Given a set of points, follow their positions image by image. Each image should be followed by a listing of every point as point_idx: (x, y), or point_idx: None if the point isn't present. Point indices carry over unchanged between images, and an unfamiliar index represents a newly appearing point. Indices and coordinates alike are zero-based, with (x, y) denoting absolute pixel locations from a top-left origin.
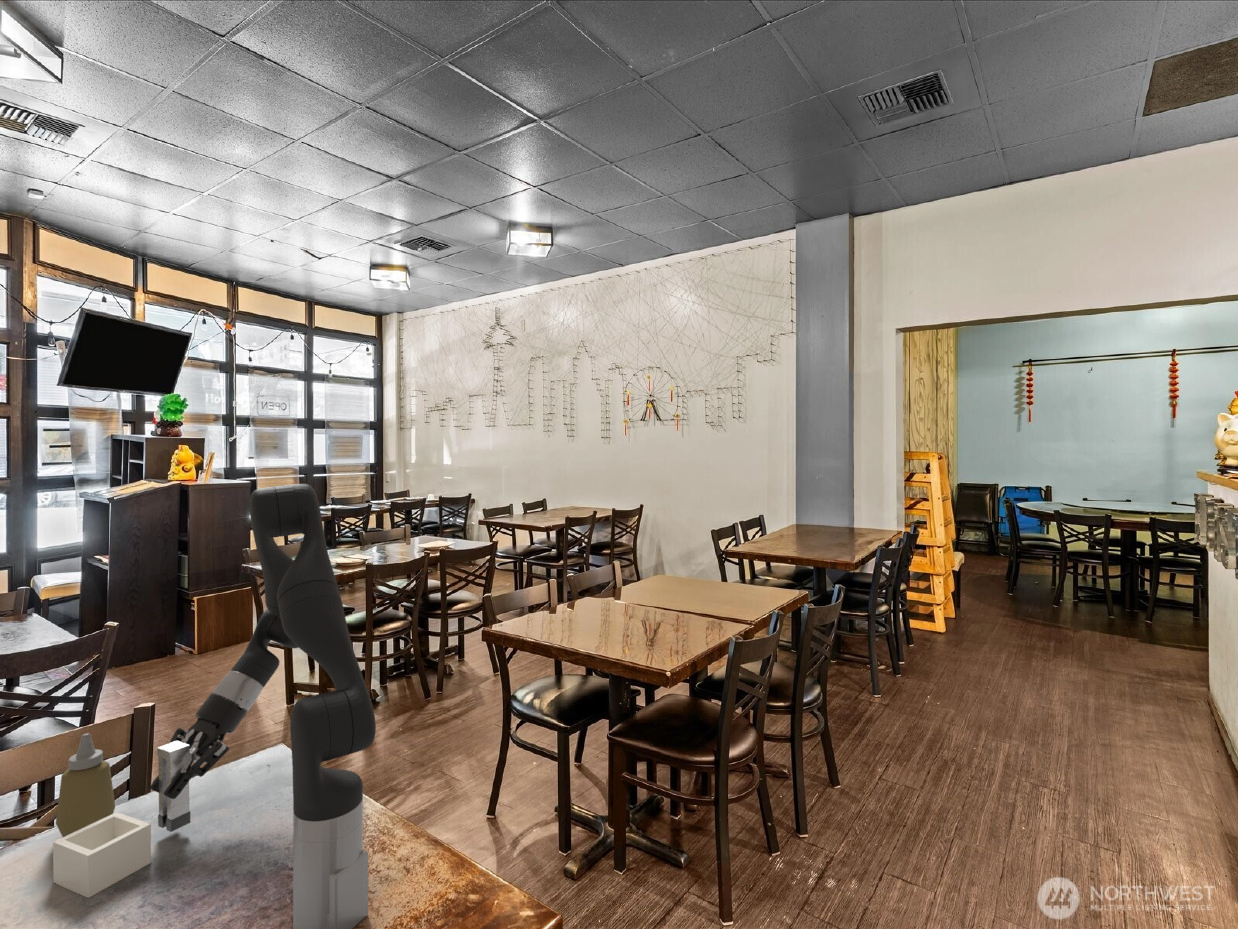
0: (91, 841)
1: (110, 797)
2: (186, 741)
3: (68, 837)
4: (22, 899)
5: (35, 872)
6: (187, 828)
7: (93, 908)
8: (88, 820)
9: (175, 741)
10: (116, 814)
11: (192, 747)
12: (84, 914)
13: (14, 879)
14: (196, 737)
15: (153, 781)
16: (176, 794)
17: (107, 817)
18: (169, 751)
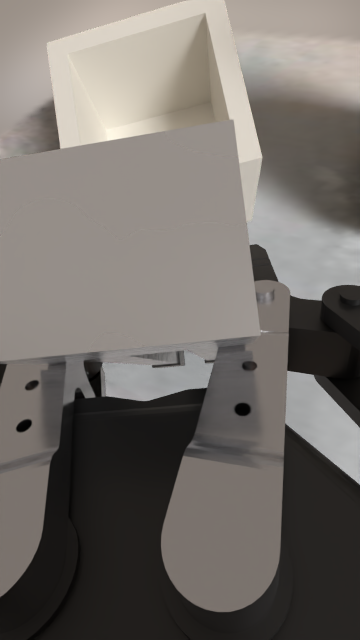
0: (221, 116)
1: None
2: (199, 422)
3: (210, 21)
4: None
5: (311, 78)
6: (201, 375)
7: (52, 130)
8: None
9: (238, 310)
10: (243, 152)
11: (43, 406)
12: (48, 115)
13: (319, 45)
14: (29, 498)
15: (264, 250)
16: None
17: (247, 126)
18: (7, 164)
